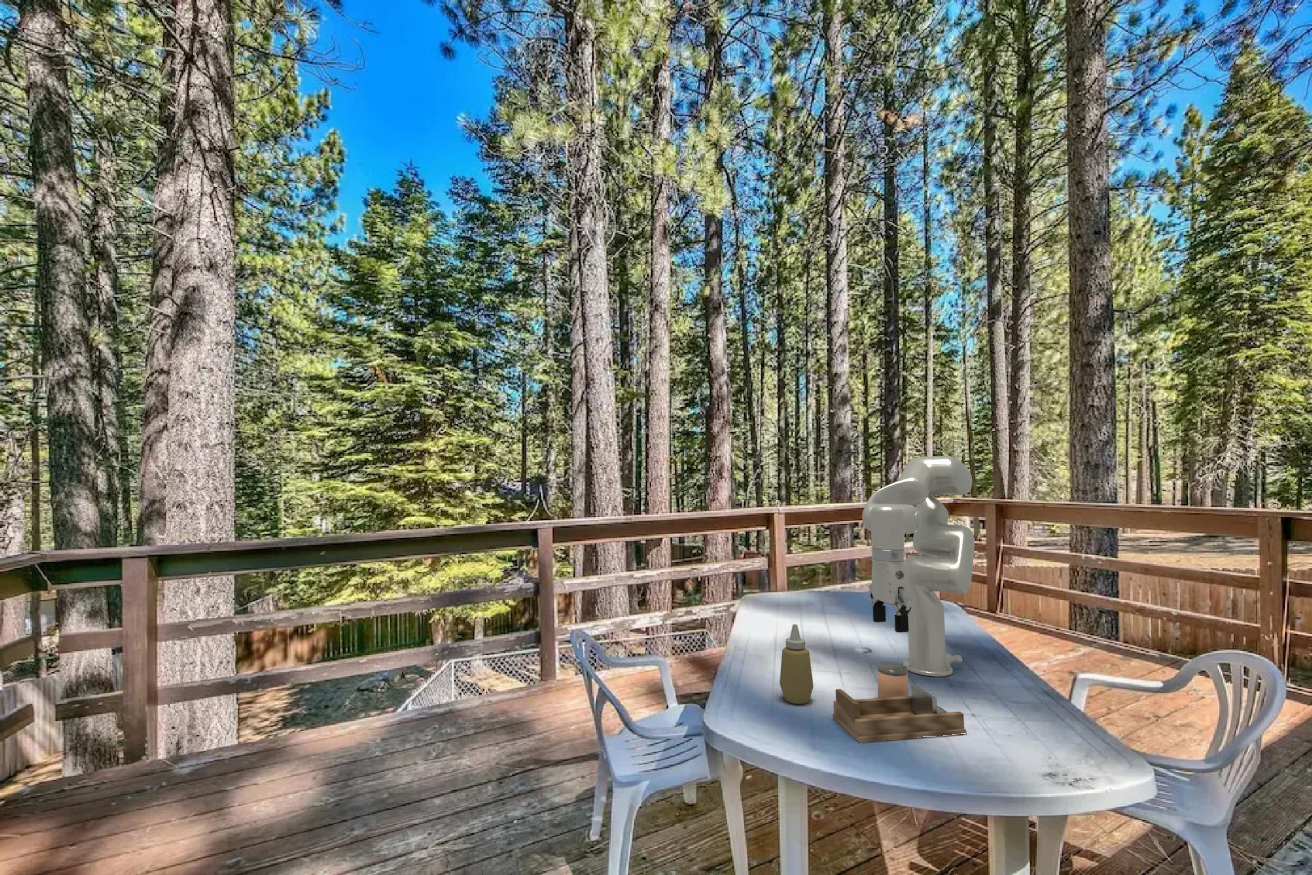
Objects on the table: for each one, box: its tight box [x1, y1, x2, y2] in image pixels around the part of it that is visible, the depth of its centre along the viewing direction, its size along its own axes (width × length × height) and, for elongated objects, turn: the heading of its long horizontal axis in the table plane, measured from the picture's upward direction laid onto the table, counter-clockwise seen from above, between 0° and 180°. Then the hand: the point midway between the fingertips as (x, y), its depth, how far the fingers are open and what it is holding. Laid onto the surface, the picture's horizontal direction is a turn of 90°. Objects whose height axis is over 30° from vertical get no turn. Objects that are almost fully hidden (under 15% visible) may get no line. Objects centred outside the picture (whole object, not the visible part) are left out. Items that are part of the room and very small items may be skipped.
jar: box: [876, 662, 910, 698], centre depth 135 cm, size 7×7×8 cm
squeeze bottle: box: [779, 623, 814, 705], centre depth 136 cm, size 8×8×18 cm
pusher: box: [910, 684, 946, 715], centre depth 122 cm, size 3×8×6 cm, turn 8°
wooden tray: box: [832, 688, 967, 744], centre depth 121 cm, size 24×12×7 cm, turn 98°
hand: (890, 626), depth 136 cm, fingers open, 9 cm apart
